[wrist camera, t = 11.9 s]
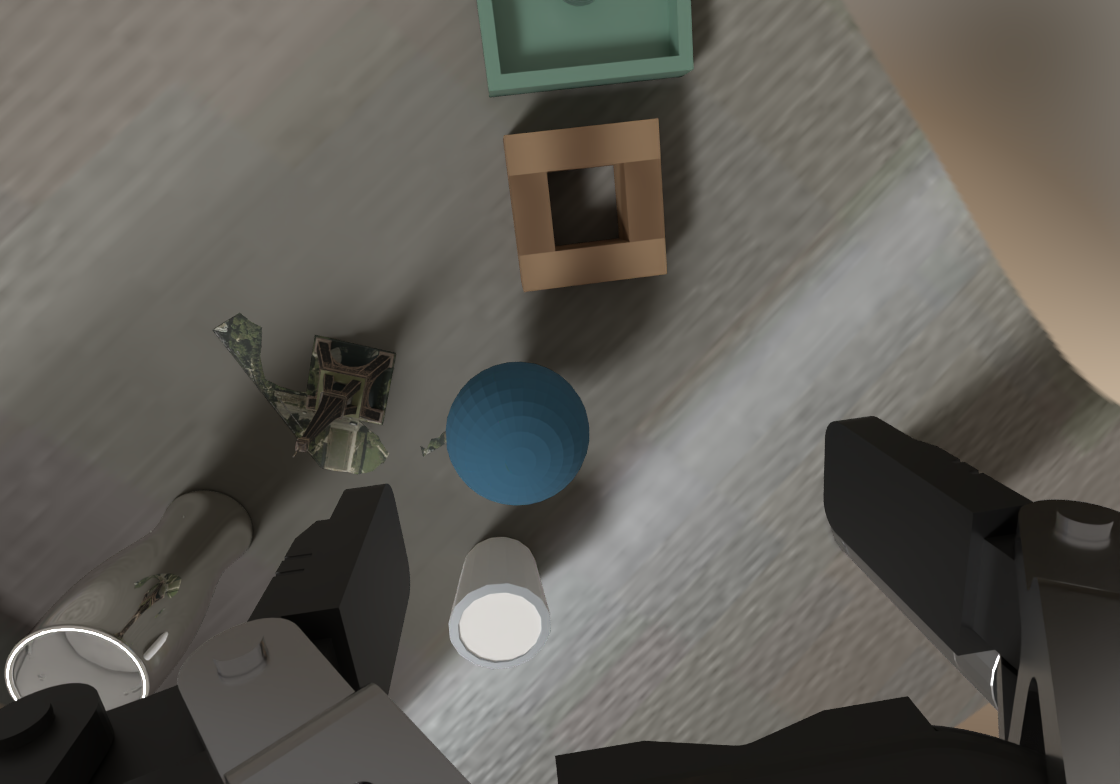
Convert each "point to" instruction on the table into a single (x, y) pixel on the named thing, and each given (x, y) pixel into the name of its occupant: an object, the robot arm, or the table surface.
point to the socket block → (636, 201)
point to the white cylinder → (499, 606)
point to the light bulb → (517, 433)
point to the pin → (578, 2)
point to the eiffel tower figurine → (326, 397)
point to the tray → (582, 43)
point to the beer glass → (135, 606)
